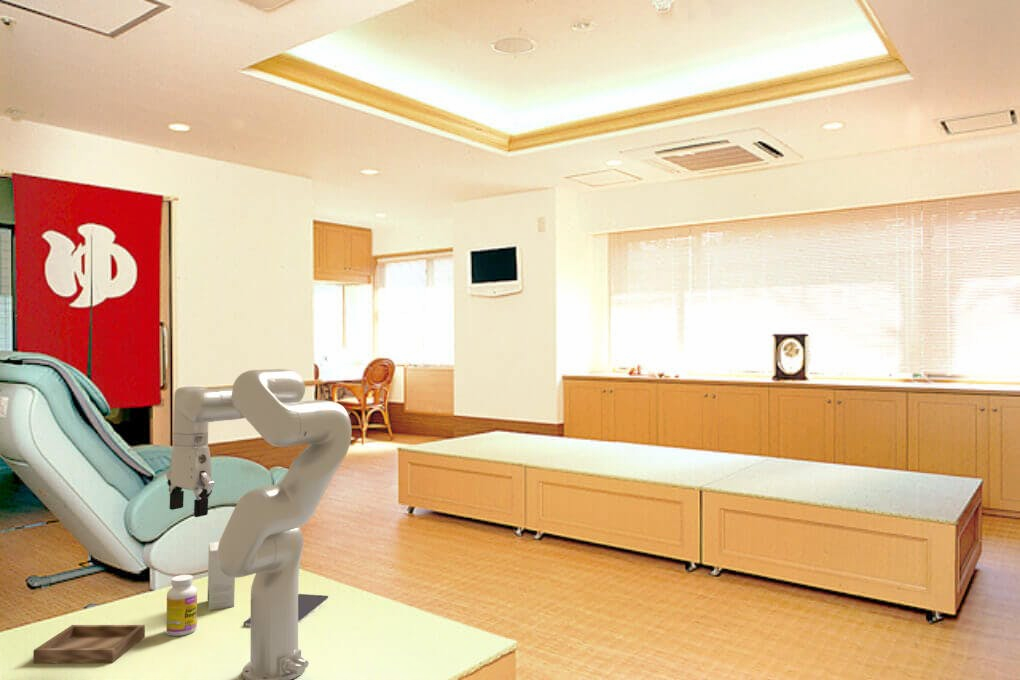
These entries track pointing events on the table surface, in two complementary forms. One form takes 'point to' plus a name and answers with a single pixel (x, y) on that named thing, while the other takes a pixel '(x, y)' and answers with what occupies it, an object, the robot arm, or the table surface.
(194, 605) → the supplement bottle
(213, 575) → the skincare box
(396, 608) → the table surface
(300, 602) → the notebook
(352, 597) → the table surface
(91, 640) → the holder tray
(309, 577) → the table surface
